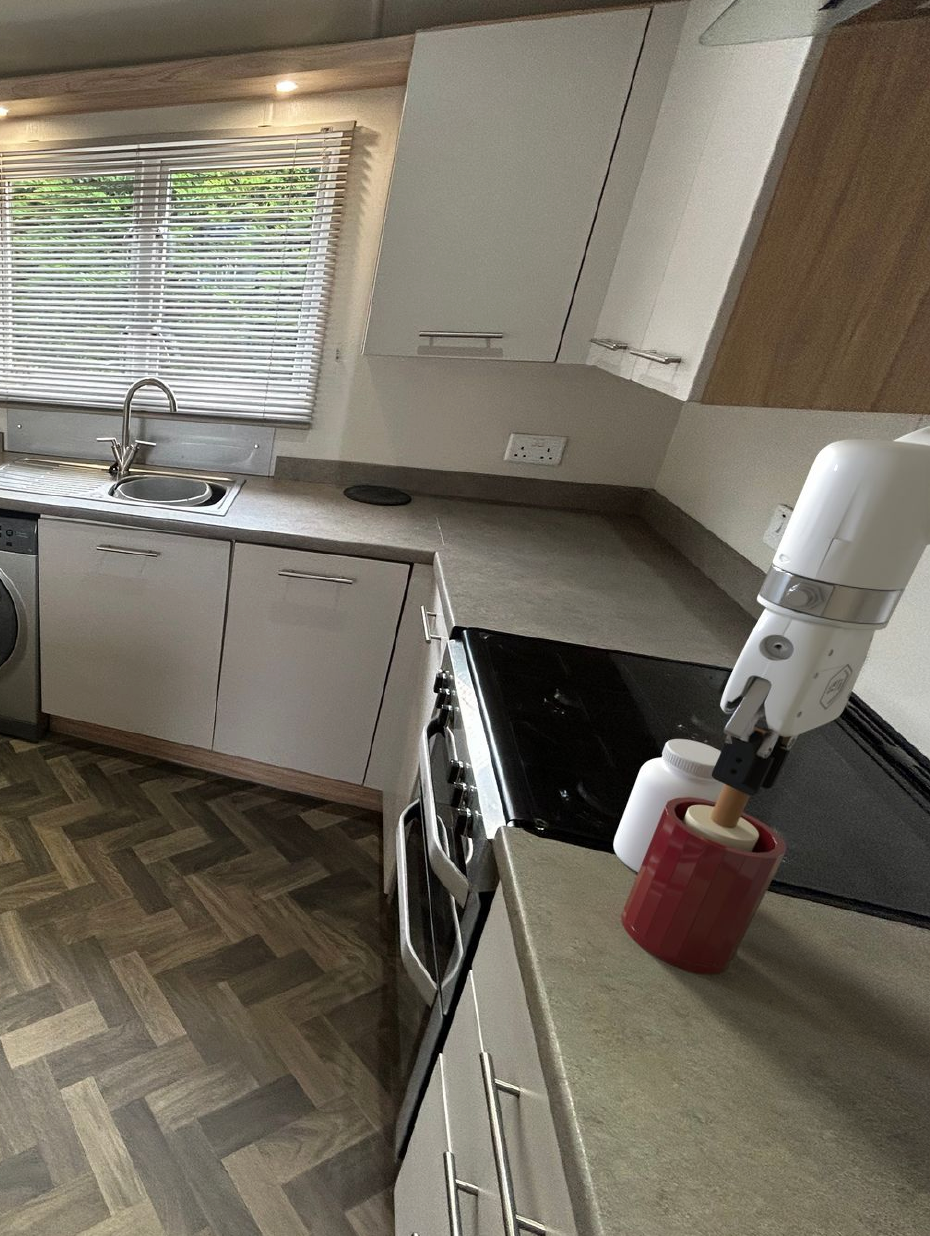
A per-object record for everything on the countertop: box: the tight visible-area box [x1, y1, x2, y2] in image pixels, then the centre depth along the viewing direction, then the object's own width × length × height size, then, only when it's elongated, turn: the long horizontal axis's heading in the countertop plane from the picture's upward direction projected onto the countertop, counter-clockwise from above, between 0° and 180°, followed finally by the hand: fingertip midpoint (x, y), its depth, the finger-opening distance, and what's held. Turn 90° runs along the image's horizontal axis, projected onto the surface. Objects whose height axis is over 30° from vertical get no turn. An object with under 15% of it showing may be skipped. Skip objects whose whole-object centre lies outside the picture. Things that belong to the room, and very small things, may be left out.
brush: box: [682, 727, 766, 852], centre depth 66 cm, size 5×5×17 cm
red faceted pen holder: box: [620, 797, 787, 975], centre depth 69 cm, size 8×8×14 cm
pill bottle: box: [612, 738, 725, 873], centre depth 78 cm, size 8×8×15 cm
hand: (741, 781), depth 64 cm, fingers closed on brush
